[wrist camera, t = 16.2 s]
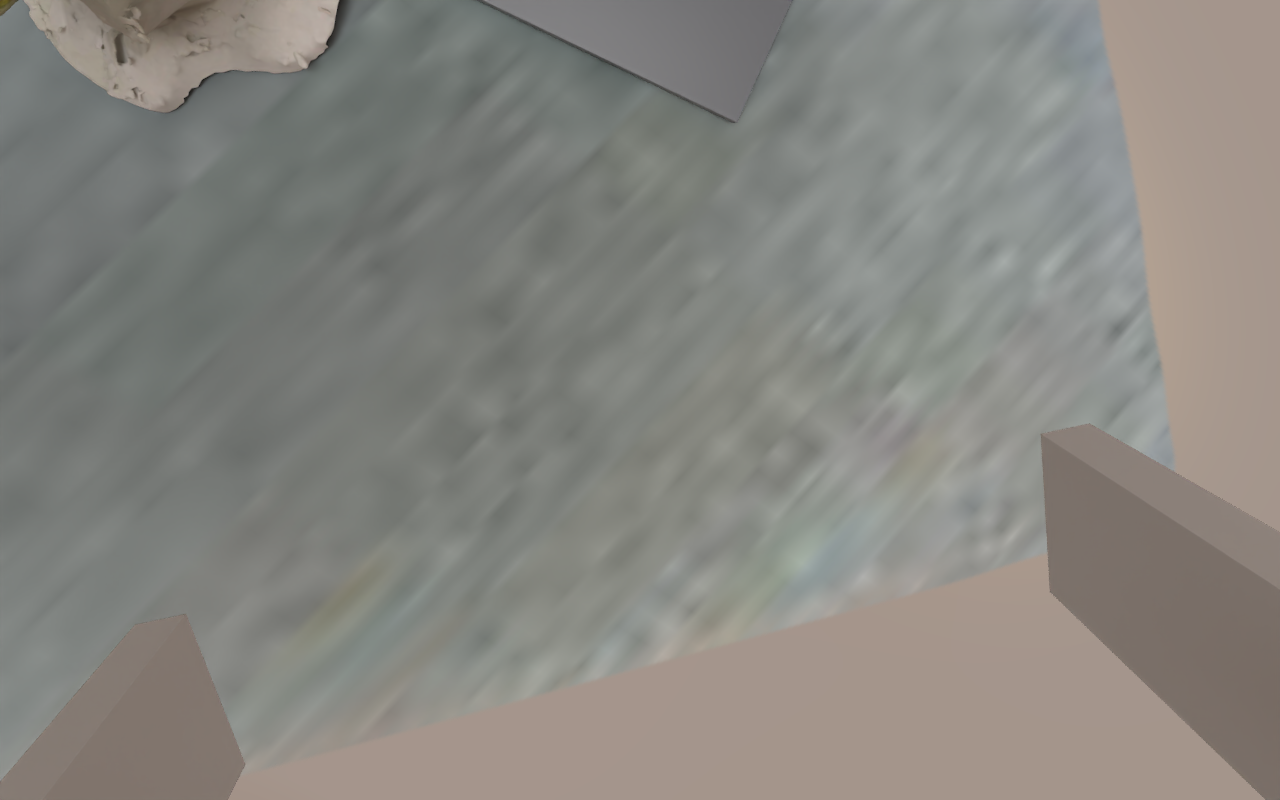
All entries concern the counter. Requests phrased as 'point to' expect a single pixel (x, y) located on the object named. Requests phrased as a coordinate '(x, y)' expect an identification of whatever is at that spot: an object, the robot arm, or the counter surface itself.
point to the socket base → (668, 41)
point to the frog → (180, 41)
